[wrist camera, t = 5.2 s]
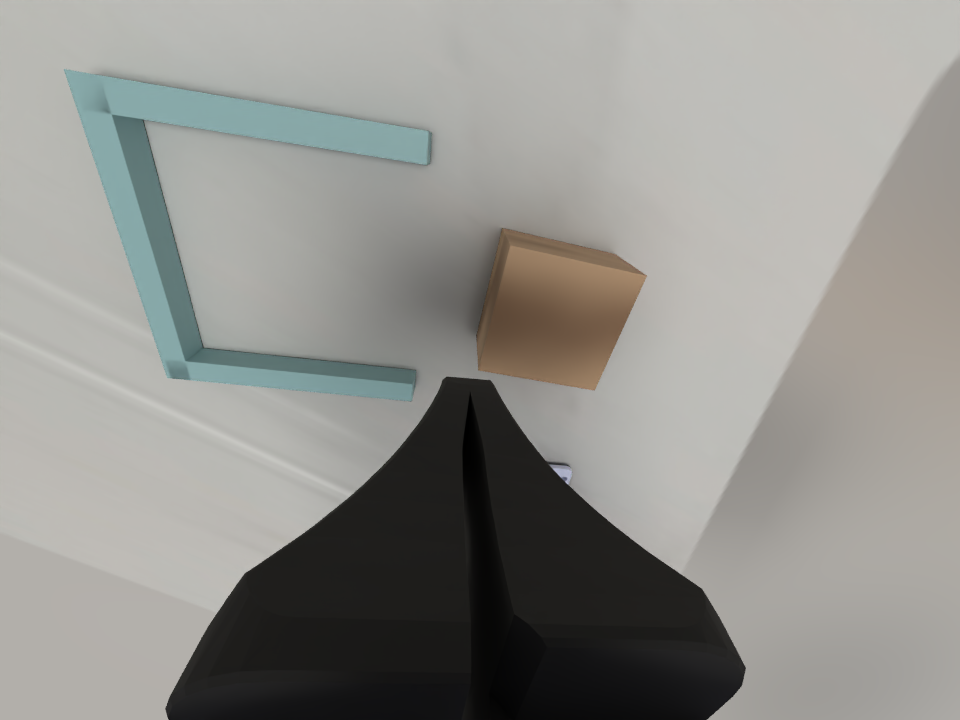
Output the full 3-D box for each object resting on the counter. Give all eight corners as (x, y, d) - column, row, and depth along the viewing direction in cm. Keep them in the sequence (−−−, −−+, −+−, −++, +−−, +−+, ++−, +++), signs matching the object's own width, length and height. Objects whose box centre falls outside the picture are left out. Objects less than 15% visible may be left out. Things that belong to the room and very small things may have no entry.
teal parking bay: (414, 386, 22) (411, 401, 21) (185, 363, 21) (167, 378, 20) (431, 132, 16) (428, 131, 14) (100, 76, 14) (63, 69, 13)
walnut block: (574, 352, 22) (594, 390, 18) (476, 334, 21) (478, 370, 17) (613, 253, 19) (646, 275, 15) (501, 227, 18) (510, 245, 15)
